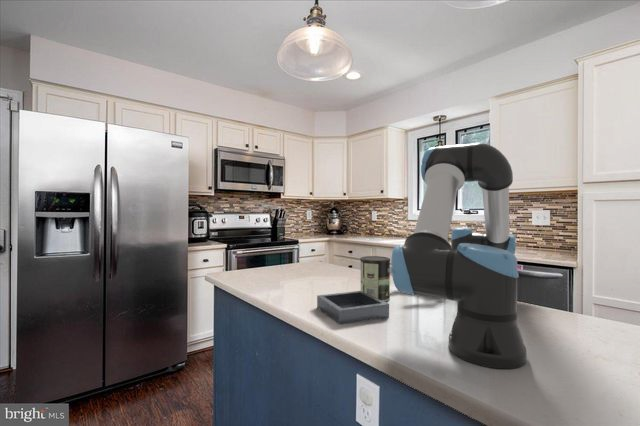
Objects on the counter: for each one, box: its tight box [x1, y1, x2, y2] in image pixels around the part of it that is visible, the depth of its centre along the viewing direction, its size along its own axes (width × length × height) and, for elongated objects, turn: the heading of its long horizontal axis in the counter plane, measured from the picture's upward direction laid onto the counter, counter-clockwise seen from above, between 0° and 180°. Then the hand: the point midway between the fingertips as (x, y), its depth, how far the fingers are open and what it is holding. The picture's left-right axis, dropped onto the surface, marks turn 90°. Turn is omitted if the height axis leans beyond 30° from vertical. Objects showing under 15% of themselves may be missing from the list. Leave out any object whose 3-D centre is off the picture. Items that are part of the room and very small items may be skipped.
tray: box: [316, 290, 390, 325], centre depth 98 cm, size 16×16×4 cm
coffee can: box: [359, 255, 391, 303], centre depth 112 cm, size 10×10×14 cm
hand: (395, 273), depth 116 cm, fingers open, 13 cm apart
